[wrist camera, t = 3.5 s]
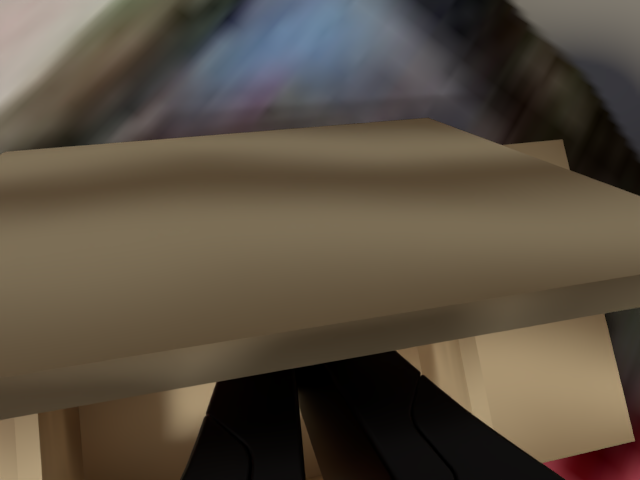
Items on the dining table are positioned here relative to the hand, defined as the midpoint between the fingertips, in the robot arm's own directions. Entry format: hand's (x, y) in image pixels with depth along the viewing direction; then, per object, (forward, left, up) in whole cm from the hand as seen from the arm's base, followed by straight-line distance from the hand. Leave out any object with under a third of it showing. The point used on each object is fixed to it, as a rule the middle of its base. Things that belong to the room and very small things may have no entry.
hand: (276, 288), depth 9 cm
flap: (+1, +1, -1) cm, 2 cm away
